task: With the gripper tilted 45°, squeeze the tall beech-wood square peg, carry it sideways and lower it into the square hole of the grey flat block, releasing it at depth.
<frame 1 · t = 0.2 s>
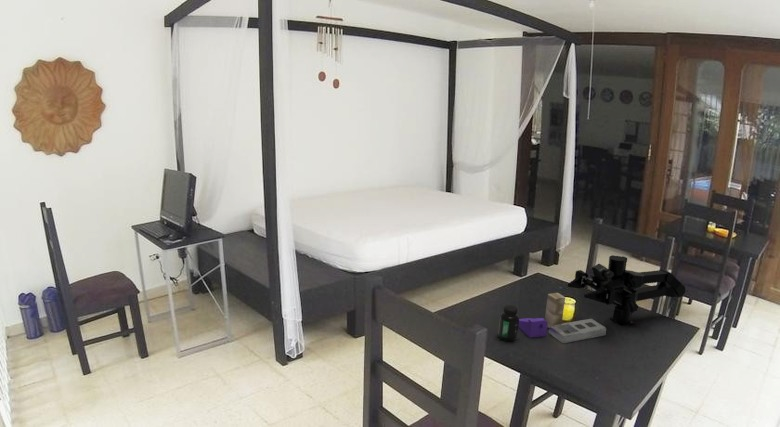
hand: (576, 290, 186), 17 cm above the table, tool horizontal, fingers open, 9 cm apart
peg: (552, 326, 193), on the table
grey flat block: (576, 334, 187), on the table
supplement bottle: (507, 337, 183), on the table
bracket: (529, 330, 190), on the table
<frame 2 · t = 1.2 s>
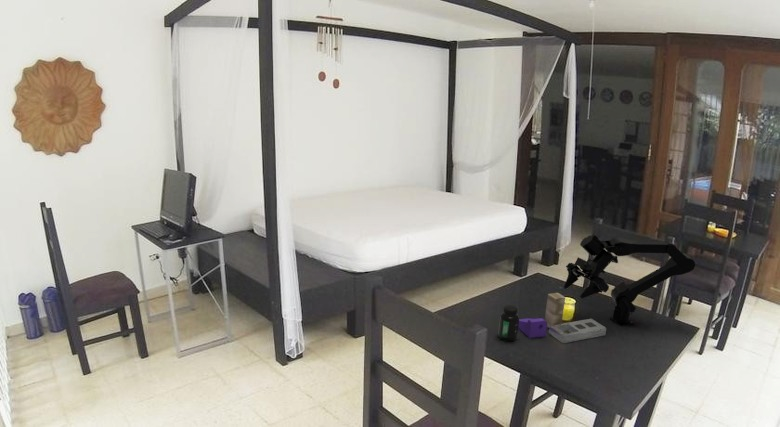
hand: (572, 292, 192), 13 cm above the table, tool tilted 45°, fingers open, 9 cm apart
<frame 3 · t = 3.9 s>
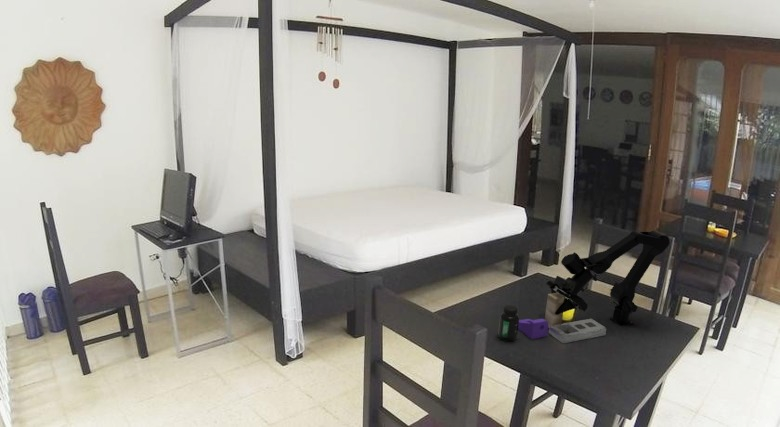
hand: (551, 311, 190), 7 cm above the table, tool tilted 45°, fingers closed on peg, 4 cm apart
peg: (552, 326, 193), on the table, touching gripper
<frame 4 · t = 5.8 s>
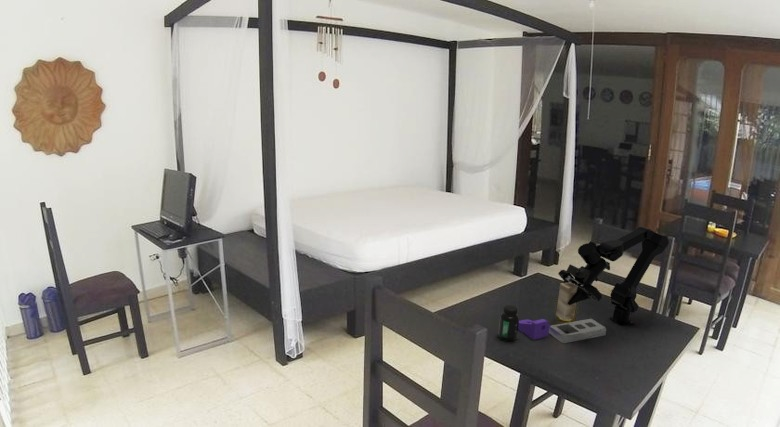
hand: (564, 301, 183), 13 cm above the table, tool tilted 45°, fingers closed on peg, 4 cm apart
peg: (564, 317, 186), point 7 cm above the table, touching gripper
when the fingers open (8 cm above the table, at t = 7.7 s): peg drops 1 cm, resting in grey flat block.
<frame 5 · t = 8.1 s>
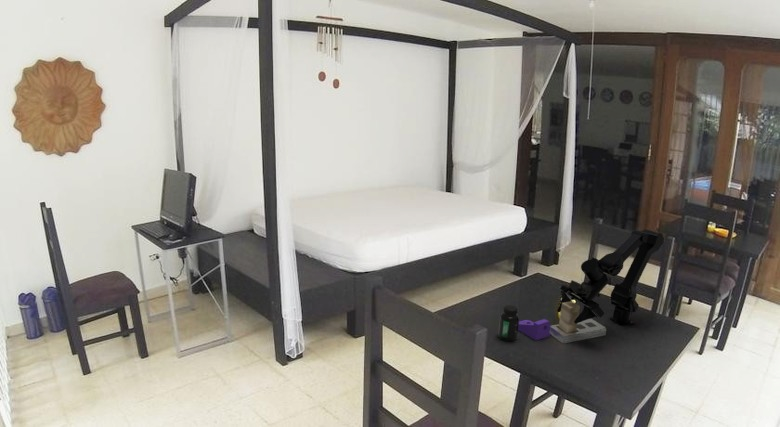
hand: (566, 317, 183), 8 cm above the table, tool tilted 45°, fingers open, 9 cm apart
peg: (566, 336, 185), resting in grey flat block
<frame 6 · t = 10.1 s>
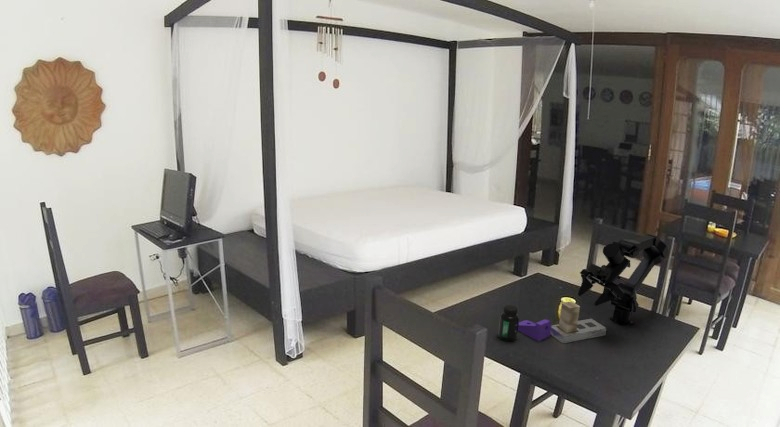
hand: (586, 300, 185), 13 cm above the table, tool tilted 45°, fingers open, 9 cm apart
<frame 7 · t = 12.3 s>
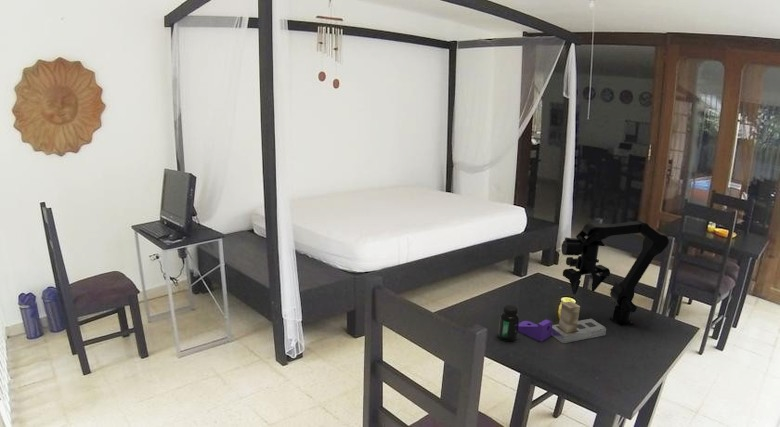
hand: (583, 292, 195), 12 cm above the table, tool pointing down, fingers open, 9 cm apart
at the end: peg 0.0 cm from the target spot on the grey flat block, point 0.0 cm above the grey flat block's base; peg tilted 0°; the gripper is holding nothing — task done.
